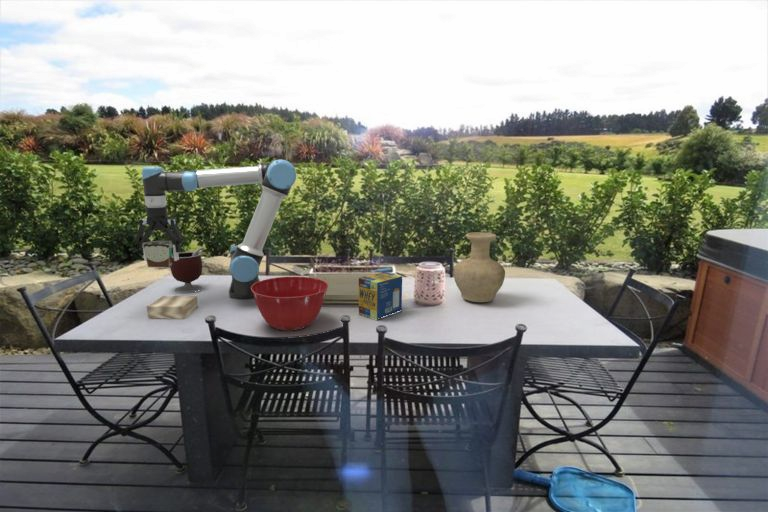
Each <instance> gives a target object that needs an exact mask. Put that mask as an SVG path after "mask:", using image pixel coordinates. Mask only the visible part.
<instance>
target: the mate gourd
mask: <svg viewBox="0 0 768 512" xmlns="http://www.w3.org/2000/svg"><path fill="white" fill-rule="evenodd" d="M202 249H204V246H200V247H199V248H197V249H196V250H194V251H183V252H178V253H179V260H177V261H174V254H173V253H172V267H170V268H169V269H170V271H171V275H172V277H173V278H174V279H175V280H176V281H179V282H182V283H184V285H181V286H177V287H175V288H174V293H176V292H178V293H177V294H190V293H189V292H193V293H196V292H195V291H198V290H200V291H202V290H203V286H202V285H198V284H192V283H193V282H194V281H196V280H198V279H199V278H200V277H201V275H202V273H203V260H202V256H201V253H200V251H201V250H202ZM201 289H202V290H201ZM198 292H199V291H198Z"/></svg>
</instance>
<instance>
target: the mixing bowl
mask: <svg viewBox="0 0 768 512" xmlns="http://www.w3.org/2000/svg"><path fill="white" fill-rule="evenodd" d="M328 288H329V283H327V281H324V280H322V279H319V278H315V277H311V276H279V277H272V278H266V279H263V280H260V281H259V282H257V283H255V284H253V285H252V286H251V290H252V292H253V296H254V301H255V304H256V306H257V309H258V310H259V313H260V314H261V316H262V318H263V319H264V321H265V323H267V324H268V325H269V326H271V327H273V328H274V329H276V330H279V329H281V330H280V331H286V330H290V331H296V330H295V329H299V330H301V329H300V328H302V329H304V328H303V327H305V328H306V326H307V327H308V326H309V325H311V324H312V323H313V322H314V321H315V320H316V319H317V317H318V315H319V313H320V311H321V309H322V306H323V305H324V301H325V298H326V294H327V290H328Z"/></svg>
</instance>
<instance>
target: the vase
mask: <svg viewBox="0 0 768 512" xmlns="http://www.w3.org/2000/svg"><path fill="white" fill-rule="evenodd" d="M465 238H466V239H467V240H469V241H470V243H471V247H470V256H469V257H468V258H464V259H462V260H461V261H459V262H457V263H456V264H455V266H454V268H453V279H454V282H455V285H456V286H457V289H458V291H460V295H461V298H462V299H464V300H466V301H469V302H473V303H487V302H491V301H494V300H495V298H496V295H497V293H498V292H499V290H501V289H502V286H503V285H504V281H505V277H506V270H505V268H504V266H503V265H502V264H501V263H499V262H498V261H496V260H495V259H492V258H491V257H490V245H491V242H492V241H495V239H497V234H494V233H490V232H481V231H479V232H477V231H476V232H474V231H473V232H467V233H466V234H465Z"/></svg>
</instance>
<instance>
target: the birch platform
mask: <svg viewBox="0 0 768 512" xmlns="http://www.w3.org/2000/svg"><path fill="white" fill-rule="evenodd" d="M198 308H199V302H198V296H197V295H163V296H161V297H159V298H158V299H156V300H155V301H153V302H151V303H150V304H148V305H147V306H146V310H147V311H146V312H147V318H172V319H173V320H177V319H180V320H182V319H183V320H184V319H186V318H187V317H188V316H190V315H191V314H193V312H194V311H195V310H196V309H198ZM172 319H171V320H172Z"/></svg>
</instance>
